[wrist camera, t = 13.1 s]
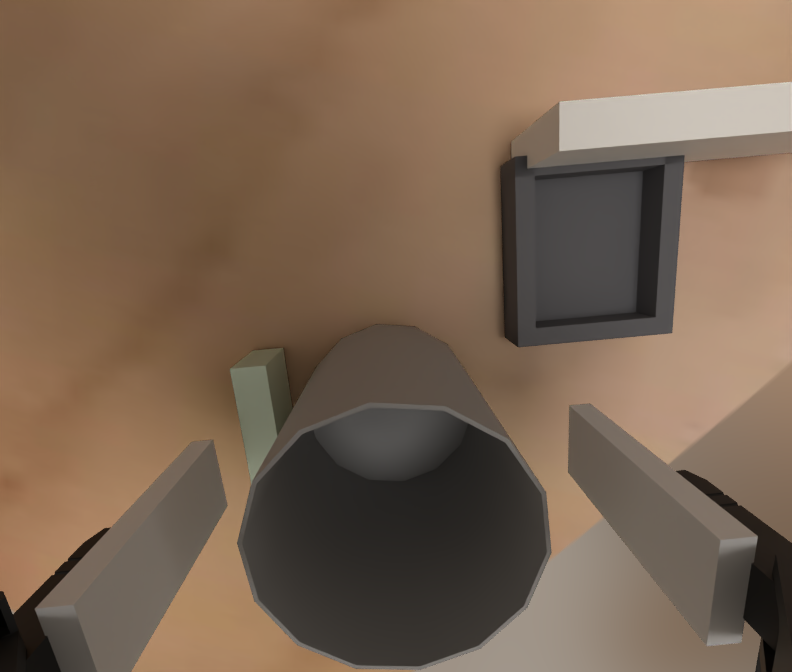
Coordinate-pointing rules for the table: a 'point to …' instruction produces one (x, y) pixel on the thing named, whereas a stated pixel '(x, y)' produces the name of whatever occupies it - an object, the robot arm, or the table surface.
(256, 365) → the dock
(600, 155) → the frame
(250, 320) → the table surface
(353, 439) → the cup
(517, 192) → the tray
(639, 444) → the robot arm
